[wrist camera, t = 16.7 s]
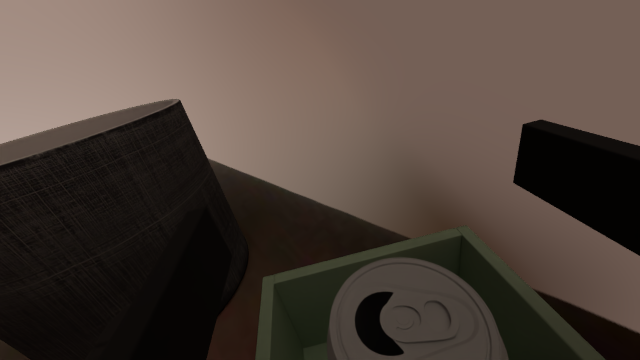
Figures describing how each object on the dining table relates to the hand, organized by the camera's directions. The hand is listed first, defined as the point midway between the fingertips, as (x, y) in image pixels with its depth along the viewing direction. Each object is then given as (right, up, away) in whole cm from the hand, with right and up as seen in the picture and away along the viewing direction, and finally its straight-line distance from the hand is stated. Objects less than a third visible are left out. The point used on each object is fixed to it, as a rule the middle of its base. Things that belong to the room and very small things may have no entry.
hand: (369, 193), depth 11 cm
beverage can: (+4, -15, +4) cm, 16 cm away
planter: (-22, -13, +21) cm, 33 cm away
